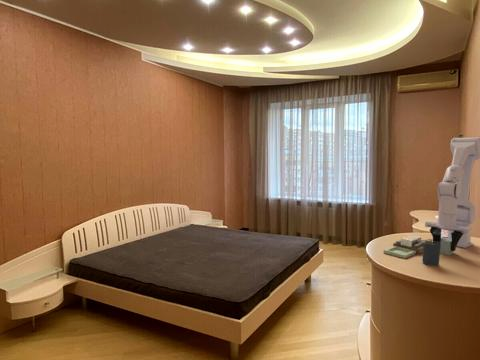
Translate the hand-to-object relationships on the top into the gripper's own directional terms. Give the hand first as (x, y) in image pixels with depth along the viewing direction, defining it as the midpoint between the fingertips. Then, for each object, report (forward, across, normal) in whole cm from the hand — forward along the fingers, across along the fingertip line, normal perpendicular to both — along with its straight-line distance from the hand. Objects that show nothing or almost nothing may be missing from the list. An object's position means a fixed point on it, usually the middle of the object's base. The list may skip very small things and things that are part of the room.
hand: (445, 248), depth 123 cm
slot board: (+1, -10, -3) cm, 11 cm away
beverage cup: (+2, -10, +25) cm, 27 cm away
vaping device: (+2, +2, -18) cm, 18 cm away
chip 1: (-1, -10, -8) cm, 13 cm away
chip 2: (-1, -10, -4) cm, 11 cm away
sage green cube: (+2, 0, 0) cm, 2 cm away
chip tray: (+1, -10, -15) cm, 18 cm away
